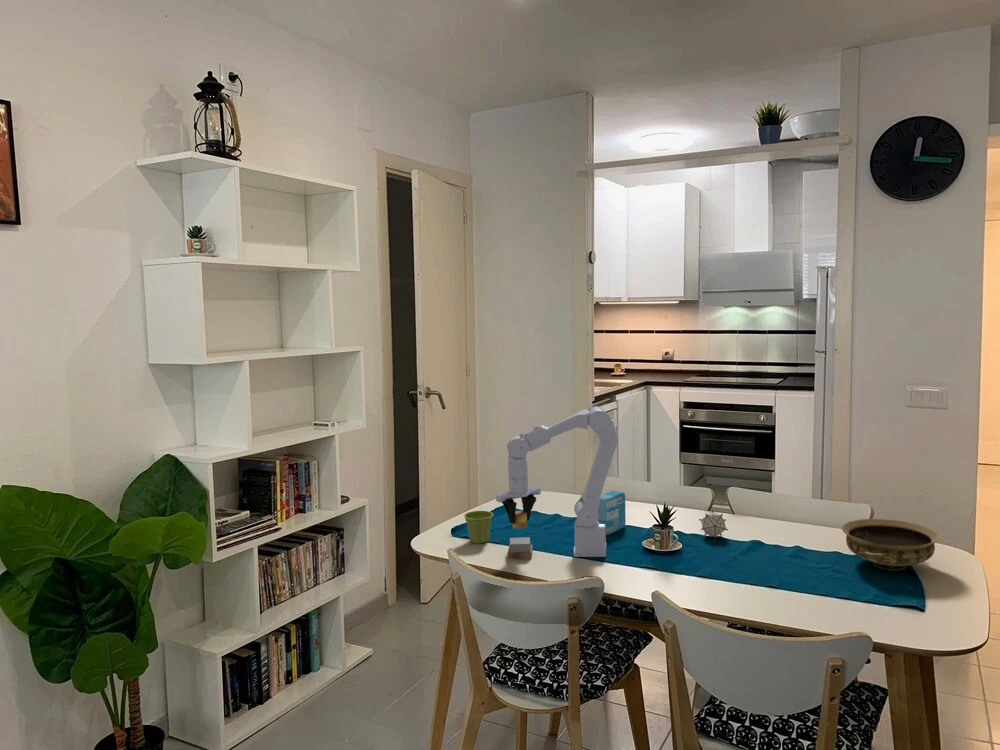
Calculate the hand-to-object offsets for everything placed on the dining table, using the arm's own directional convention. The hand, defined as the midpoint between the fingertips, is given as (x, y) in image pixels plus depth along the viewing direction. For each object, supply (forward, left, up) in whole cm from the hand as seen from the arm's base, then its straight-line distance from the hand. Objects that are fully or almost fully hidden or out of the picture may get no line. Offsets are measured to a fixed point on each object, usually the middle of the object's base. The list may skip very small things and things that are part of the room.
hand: (519, 521), depth 226 cm
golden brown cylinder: (0, 0, -2) cm, 2 cm away
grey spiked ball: (-60, -17, -11) cm, 63 cm away
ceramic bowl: (-103, +8, -11) cm, 104 cm away
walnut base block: (0, 0, -11) cm, 11 cm away
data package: (-28, -24, -11) cm, 38 cm away
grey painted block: (0, 0, -8) cm, 8 cm away
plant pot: (+14, -13, -11) cm, 22 cm away
